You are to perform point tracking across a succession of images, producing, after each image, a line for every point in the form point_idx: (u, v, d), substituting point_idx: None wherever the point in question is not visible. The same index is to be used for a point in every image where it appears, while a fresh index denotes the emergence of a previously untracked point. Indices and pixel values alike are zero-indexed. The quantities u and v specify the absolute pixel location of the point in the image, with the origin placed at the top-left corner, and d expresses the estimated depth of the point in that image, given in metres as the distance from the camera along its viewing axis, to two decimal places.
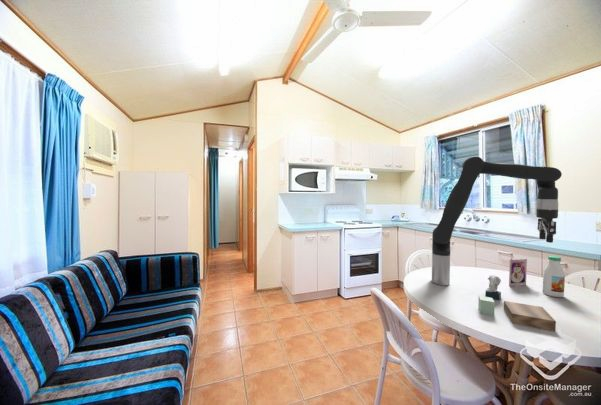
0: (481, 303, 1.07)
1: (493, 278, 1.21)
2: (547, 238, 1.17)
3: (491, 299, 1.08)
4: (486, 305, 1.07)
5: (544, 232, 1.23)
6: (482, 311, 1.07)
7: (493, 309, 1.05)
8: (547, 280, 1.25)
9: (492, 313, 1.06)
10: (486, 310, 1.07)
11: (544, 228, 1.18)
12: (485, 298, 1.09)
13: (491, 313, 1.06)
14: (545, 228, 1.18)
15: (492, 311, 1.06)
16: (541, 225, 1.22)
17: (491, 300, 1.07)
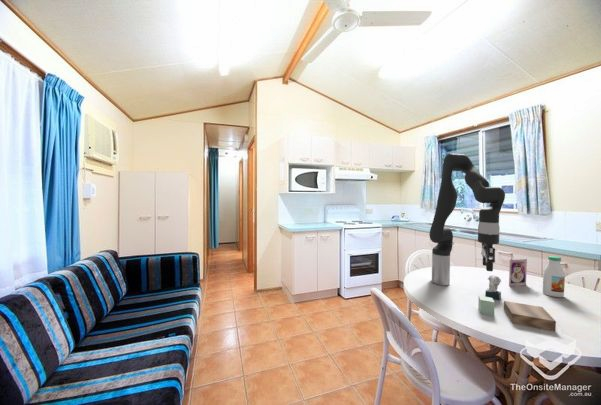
0: (481, 303, 1.07)
1: (493, 278, 1.21)
2: (487, 266, 1.04)
3: (491, 299, 1.08)
4: (486, 305, 1.07)
5: None
6: (482, 311, 1.07)
7: (493, 309, 1.05)
8: (547, 280, 1.25)
9: (492, 313, 1.06)
10: (486, 310, 1.07)
11: (484, 255, 1.05)
12: (485, 298, 1.09)
13: (491, 313, 1.06)
14: (485, 255, 1.05)
15: (492, 311, 1.06)
16: (483, 250, 1.10)
17: (491, 300, 1.07)
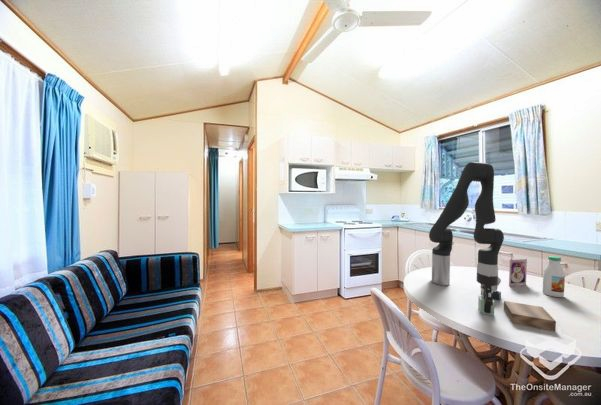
0: (481, 303, 1.07)
1: None
2: (485, 308, 1.06)
3: None
4: None
5: None
6: (482, 311, 1.07)
7: (493, 309, 1.06)
8: (547, 280, 1.25)
9: (492, 313, 1.06)
10: None
11: None
12: None
13: (491, 313, 1.06)
14: (483, 297, 1.07)
15: (492, 311, 1.06)
16: None
17: None
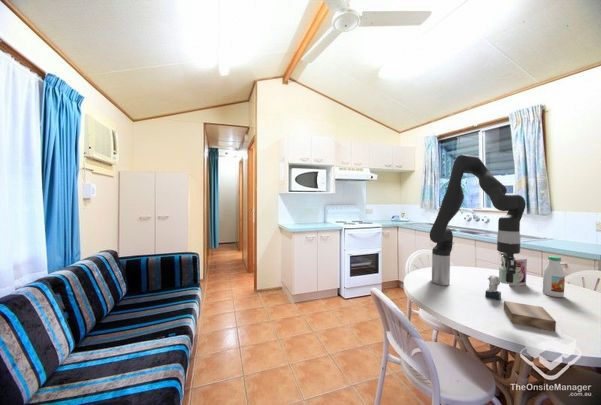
0: (502, 273, 1.03)
1: (493, 278, 1.21)
2: (507, 277, 1.02)
3: None
4: None
5: None
6: (504, 281, 1.03)
7: (515, 278, 1.01)
8: (547, 280, 1.25)
9: (514, 282, 1.01)
10: None
11: (504, 265, 1.03)
12: None
13: (513, 283, 1.01)
14: (505, 266, 1.02)
15: (514, 280, 1.01)
16: (503, 260, 1.06)
17: None
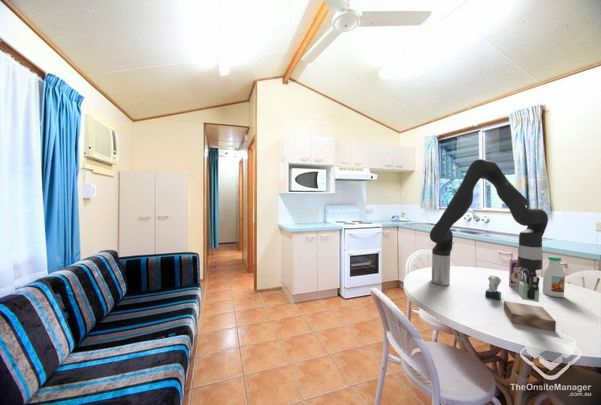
0: (524, 289, 1.00)
1: (493, 278, 1.21)
2: (528, 294, 0.99)
3: None
4: None
5: None
6: (525, 297, 1.00)
7: (537, 295, 0.98)
8: (547, 280, 1.25)
9: (536, 299, 0.99)
10: None
11: (525, 281, 1.00)
12: None
13: (535, 299, 0.99)
14: (526, 282, 0.99)
15: (536, 297, 0.99)
16: (524, 276, 1.03)
17: None
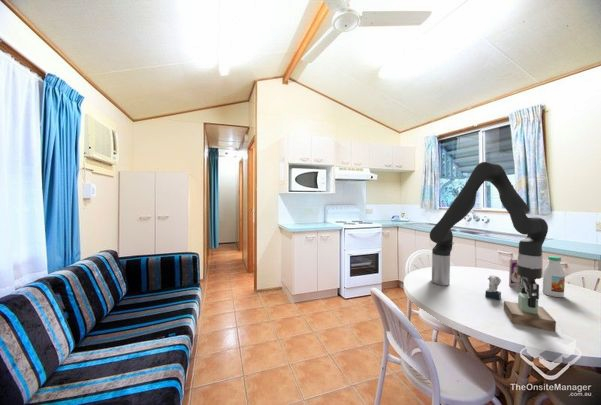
0: (523, 301, 1.01)
1: (493, 278, 1.21)
2: (529, 302, 0.98)
3: None
4: None
5: (527, 292, 1.05)
6: (524, 309, 1.01)
7: (536, 307, 0.99)
8: (547, 280, 1.25)
9: (535, 311, 0.99)
10: (528, 308, 1.00)
11: (525, 289, 0.99)
12: (526, 295, 1.02)
13: (534, 311, 0.99)
14: (527, 290, 0.99)
15: (535, 309, 0.99)
16: (523, 283, 1.04)
17: None
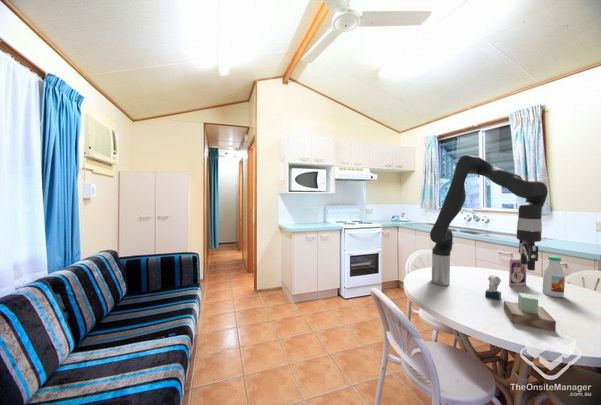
0: (523, 301, 1.01)
1: (493, 278, 1.21)
2: (528, 265, 0.98)
3: (533, 296, 1.01)
4: (528, 303, 1.00)
5: (526, 257, 1.05)
6: (524, 309, 1.01)
7: (536, 307, 0.99)
8: (547, 280, 1.25)
9: (535, 311, 0.99)
10: (528, 308, 1.00)
11: (525, 253, 0.99)
12: (526, 295, 1.02)
13: (534, 311, 0.99)
14: (526, 253, 0.99)
15: (535, 309, 0.99)
16: (522, 248, 1.04)
17: (534, 297, 1.00)
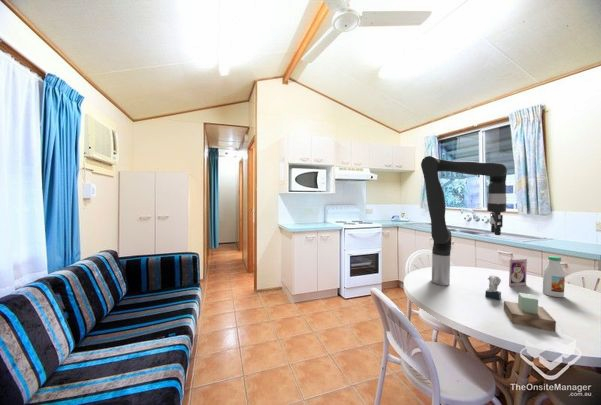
0: (523, 301, 1.01)
1: (493, 278, 1.21)
2: (495, 231, 1.21)
3: (533, 296, 1.01)
4: (528, 303, 1.00)
5: None
6: (524, 309, 1.01)
7: (536, 307, 0.99)
8: (547, 280, 1.25)
9: (535, 311, 0.99)
10: (528, 308, 1.00)
11: (493, 221, 1.23)
12: (526, 295, 1.02)
13: (534, 311, 0.99)
14: (494, 221, 1.22)
15: (535, 309, 0.99)
16: None
17: (534, 297, 1.00)
